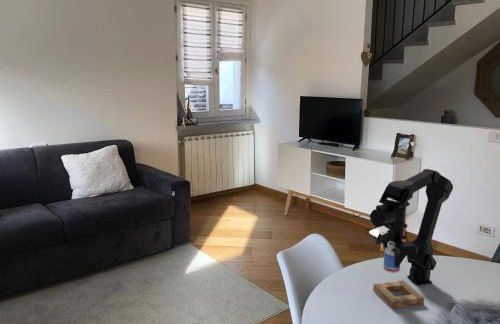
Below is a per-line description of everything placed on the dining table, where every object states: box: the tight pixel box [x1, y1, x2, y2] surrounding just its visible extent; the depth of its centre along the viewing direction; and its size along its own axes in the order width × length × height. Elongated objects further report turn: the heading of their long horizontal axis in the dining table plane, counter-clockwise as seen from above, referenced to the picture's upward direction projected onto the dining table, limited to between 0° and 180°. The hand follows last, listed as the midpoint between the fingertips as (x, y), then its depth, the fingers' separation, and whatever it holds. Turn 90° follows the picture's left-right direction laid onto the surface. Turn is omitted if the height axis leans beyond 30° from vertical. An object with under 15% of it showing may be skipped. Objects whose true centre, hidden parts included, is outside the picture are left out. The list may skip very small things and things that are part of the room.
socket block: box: [372, 280, 425, 310], centre depth 150 cm, size 12×12×2 cm
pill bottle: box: [382, 241, 401, 274], centre depth 148 cm, size 6×5×10 cm
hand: (392, 262), depth 149 cm, fingers closed on pill bottle, 5 cm apart
